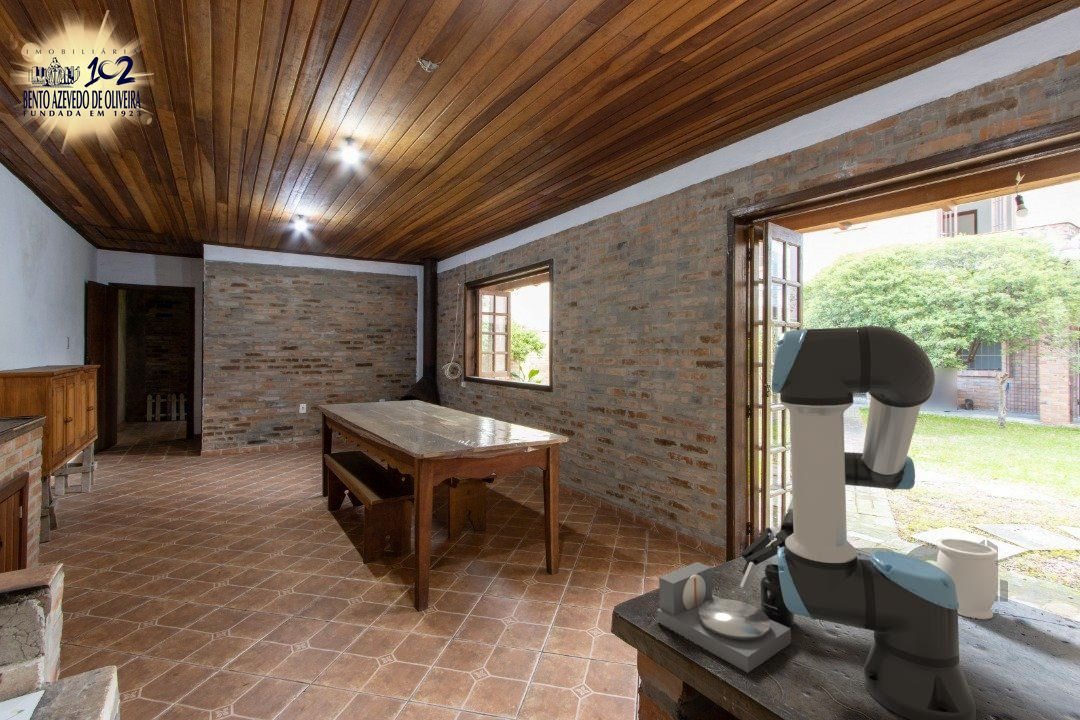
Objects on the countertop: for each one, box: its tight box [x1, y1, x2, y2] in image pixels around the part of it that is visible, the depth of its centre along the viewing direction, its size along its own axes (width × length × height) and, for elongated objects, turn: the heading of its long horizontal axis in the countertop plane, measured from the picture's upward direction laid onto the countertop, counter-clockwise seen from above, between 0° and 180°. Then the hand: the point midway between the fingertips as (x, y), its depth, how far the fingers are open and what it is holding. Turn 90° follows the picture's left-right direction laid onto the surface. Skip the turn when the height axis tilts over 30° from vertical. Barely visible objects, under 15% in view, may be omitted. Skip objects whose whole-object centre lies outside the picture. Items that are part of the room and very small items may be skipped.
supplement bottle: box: [760, 563, 795, 628], centre depth 106 cm, size 7×7×12 cm
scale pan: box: [699, 598, 770, 640], centre depth 100 cm, size 14×14×1 cm
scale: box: [656, 561, 792, 674], centre depth 102 cm, size 22×16×10 cm
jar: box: [936, 538, 999, 620], centre depth 109 cm, size 11×10×15 cm
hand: (771, 601), depth 105 cm, fingers open, 13 cm apart
